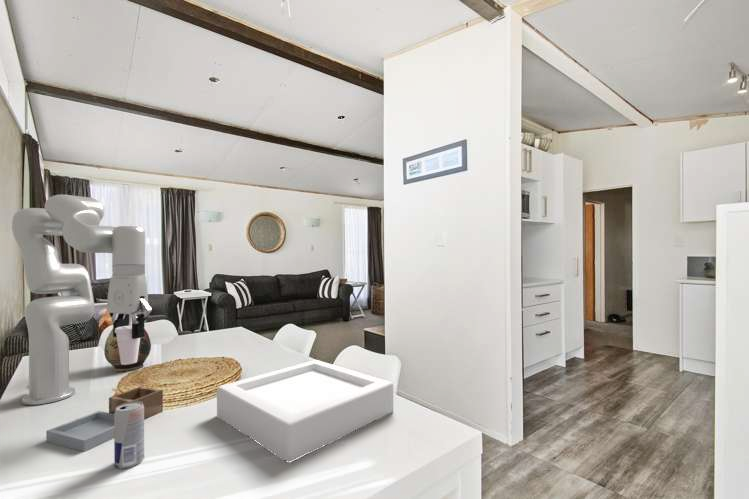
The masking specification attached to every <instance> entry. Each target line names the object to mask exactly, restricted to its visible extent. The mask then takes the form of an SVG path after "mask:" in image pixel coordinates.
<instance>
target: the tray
mask: <svg viewBox="0 0 749 499" xmlns="http://www.w3.org/2000/svg"><path fill="white" fill-rule="evenodd" d="M391 412H392V413H393V412H394V383H393V382H391V381H389V380H386V379H382V378H378V377H375V376H372V375H368V374H365V373H362V372H359V371H356V370H352V369H349V368H345V367H342V366H338V365H336V364H333V363H328V362H325V361H322V360H319V359H313V360H310V361H306V362H303V363H298V364H296V365H292V366H288V367H284V368H281V369H279V370H278V369H276V370H274V371H273V370H272V371H270V372H267V373H261V374H258V375H255V376H251V377H247V378H244V379H239V380H236V381H232V382H228V383H225V384H222V385H219V386H217V388H216V417H217V418H218V419H220V420H221V419H222V420H221V421H223V422H224V421H225V422H224V423H226V422H227V423H226V424H228V425H229V424H230V425H229V426H231V425H232V426H233V427H232V426H231V427H232V428H234V427H235V428H236V429H235V428H234V429H235V430H237V429H238V430H240V431H241V432H243V433H244V434H246V435H248V436H249V437H251V438H253V439H254V440H256V441H257V442H259V443H260V444H261V445H263V446H264V447H266V448H267V449H269V450H270V451H272V452H273V453H275V454H276V455H278V456H279V457H281V458H282V459H284V460H286V461H288V462H289V461H292V460H294V459H296V458H298V457H300V456H302V455H304V454H306V453H308V452H311V451H313V450H315V449H317V448H320V447H322V446H323V445H326V444H328V443H330V442H332V441H334V440H336V439H338V438H340V437H342V438H344V437H346V436H347V434H348V435H350V434H352V433H354V432H356V431H358V430H360V429H362V428H364V427H366V426H368V425H369V424H368V423H370V422H372V421H374V420H376V421H378V420H380V419H382V418H384V417H386V416H388V415H390V414H392V413H391ZM389 413H390V414H389ZM387 414H388V415H387ZM385 415H386V416H385ZM383 416H384V417H383ZM381 417H382V418H381ZM379 418H380V419H379ZM377 419H378V420H377ZM374 422H375V421H374ZM372 423H373V422H372ZM367 424H368V425H367ZM370 424H371V423H370ZM365 425H366V426H365ZM363 426H364V427H363ZM361 427H362V428H361ZM359 428H360V429H359ZM357 429H358V430H357ZM238 430H237V431H238ZM355 430H356V431H355ZM240 431H239V432H240ZM353 431H354V432H353ZM241 432H240V433H241ZM351 432H352V433H351ZM243 433H242V434H243ZM349 433H350V434H349ZM244 434H243V435H244ZM246 435H245V436H246ZM345 435H346V436H345ZM343 436H344V437H343ZM249 437H248V438H249ZM340 439H341V438H340ZM338 440H339V439H338ZM336 441H337V440H336ZM334 442H335V441H334ZM332 443H333V442H332ZM330 444H331V443H330ZM261 445H260V446H261ZM328 445H329V444H328ZM326 446H327V445H326ZM264 447H263V448H264ZM322 448H323V447H322ZM267 449H266V450H267ZM320 449H321V448H320ZM269 450H268V451H269ZM270 451H269V452H270ZM272 452H271V453H272ZM273 453H272V454H273ZM275 454H274V455H275ZM276 455H275V456H276ZM278 456H277V457H278ZM279 457H278V458H279ZM281 458H280V459H281ZM282 459H281V460H282ZM284 460H283V461H284Z"/></svg>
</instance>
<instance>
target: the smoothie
mask: <svg viewBox="0 0 749 499" xmlns="http://www.w3.org/2000/svg"><path fill="white" fill-rule="evenodd" d="M115 333H116V335H117V342H118V348H119V354H120V361H121V364H122V365H127V364H133V363H136V362H137V359H138V351H139V344H140V338H136V339H132V315H131V314H129V326H122V327H118V328H115Z"/></svg>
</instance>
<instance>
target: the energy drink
mask: <svg viewBox="0 0 749 499" xmlns="http://www.w3.org/2000/svg"><path fill="white" fill-rule="evenodd" d="M113 440H114V445H113V446H114V450H113V451H114V452H113V453H114V456H113V457H114V458H113V461H114V467H115V468H117V469H121V470H123V469H129V468H133V467H135V466H137V465H140V463H142V462H143V461H144V459H145V420H144V406H143V403H142V402H129V403H125V404H122V405H120V406H118V407H117V408H116V410H115V413H114V438H113Z"/></svg>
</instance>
